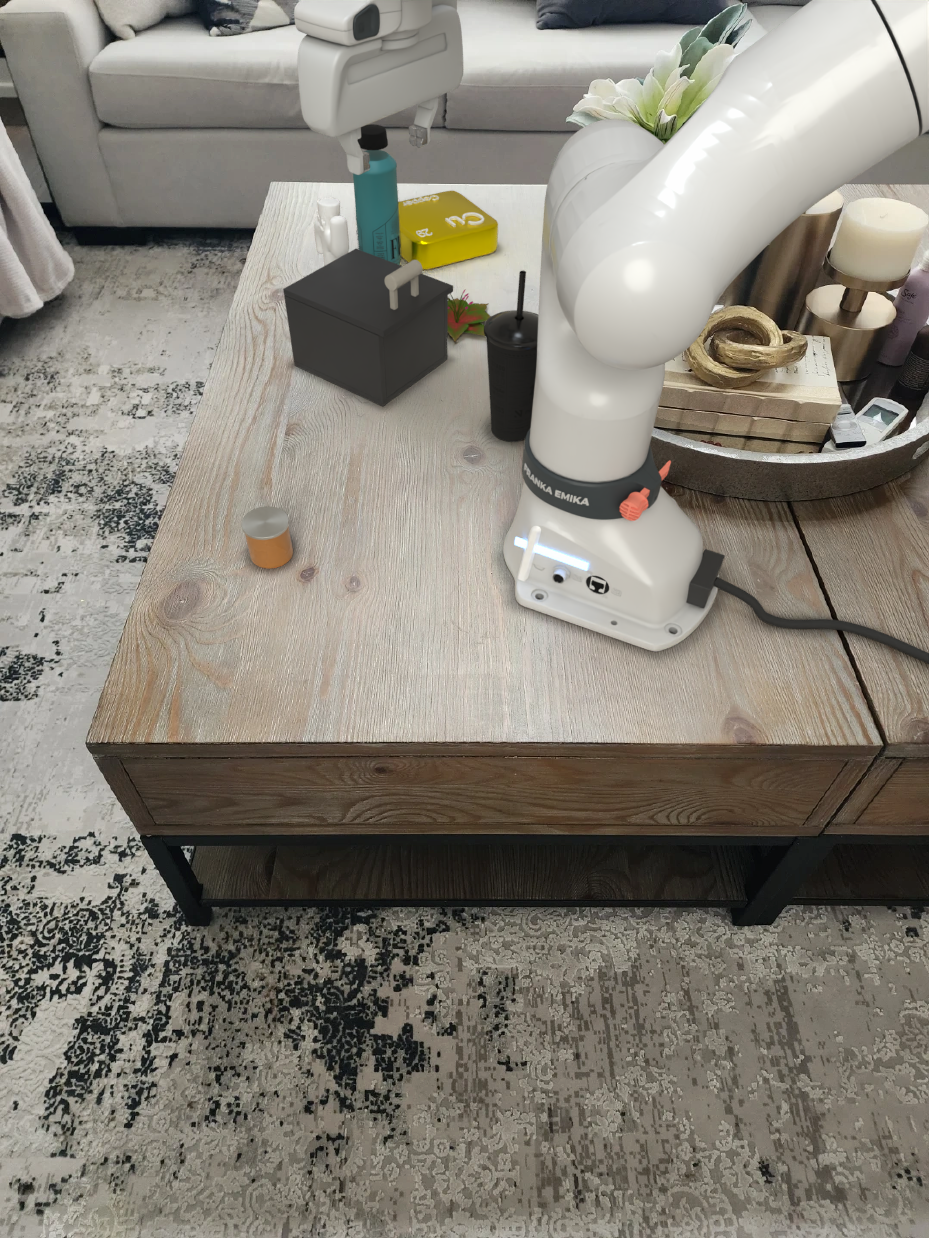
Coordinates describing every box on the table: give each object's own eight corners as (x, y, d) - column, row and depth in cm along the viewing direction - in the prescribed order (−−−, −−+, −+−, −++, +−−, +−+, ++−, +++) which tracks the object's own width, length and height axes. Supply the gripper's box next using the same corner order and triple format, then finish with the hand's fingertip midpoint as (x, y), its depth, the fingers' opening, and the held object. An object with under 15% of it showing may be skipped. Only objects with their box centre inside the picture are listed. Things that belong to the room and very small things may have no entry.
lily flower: (498, 347, 116) (500, 316, 112) (410, 344, 116) (409, 313, 112) (499, 303, 123) (500, 273, 120) (417, 300, 123) (416, 269, 120)
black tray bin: (447, 359, 113) (448, 290, 106) (382, 406, 106) (378, 335, 99) (361, 323, 119) (356, 254, 112) (294, 365, 112) (283, 295, 104)
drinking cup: (469, 438, 102) (474, 279, 87) (495, 405, 107) (504, 249, 92) (527, 456, 100) (543, 297, 85) (551, 422, 105) (570, 264, 90)
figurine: (350, 287, 125) (342, 181, 114) (373, 318, 120) (366, 210, 109) (303, 296, 123) (290, 190, 112) (324, 328, 118) (312, 219, 107)
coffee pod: (303, 550, 89) (298, 518, 85) (272, 576, 86) (265, 544, 83) (271, 532, 91) (264, 500, 87) (239, 556, 88) (231, 524, 85)
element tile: (454, 214, 142) (454, 185, 139) (501, 251, 134) (503, 221, 130) (374, 233, 137) (372, 203, 134) (418, 273, 129) (417, 242, 125)
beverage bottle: (396, 284, 126) (390, 139, 111) (353, 279, 127) (341, 134, 112) (407, 264, 131) (402, 121, 116) (365, 259, 131) (355, 117, 116)
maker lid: (453, 291, 106) (453, 252, 102) (383, 337, 98) (381, 297, 94) (356, 254, 112) (353, 215, 108) (283, 295, 104) (278, 255, 100)
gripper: (430, -29, 84) (431, 123, 95) (279, 13, 74) (298, 179, 84) (480, -18, 82) (475, 137, 92) (331, 27, 71) (344, 197, 82)
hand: (390, 158), depth 88 cm, fingers open, 8 cm apart
